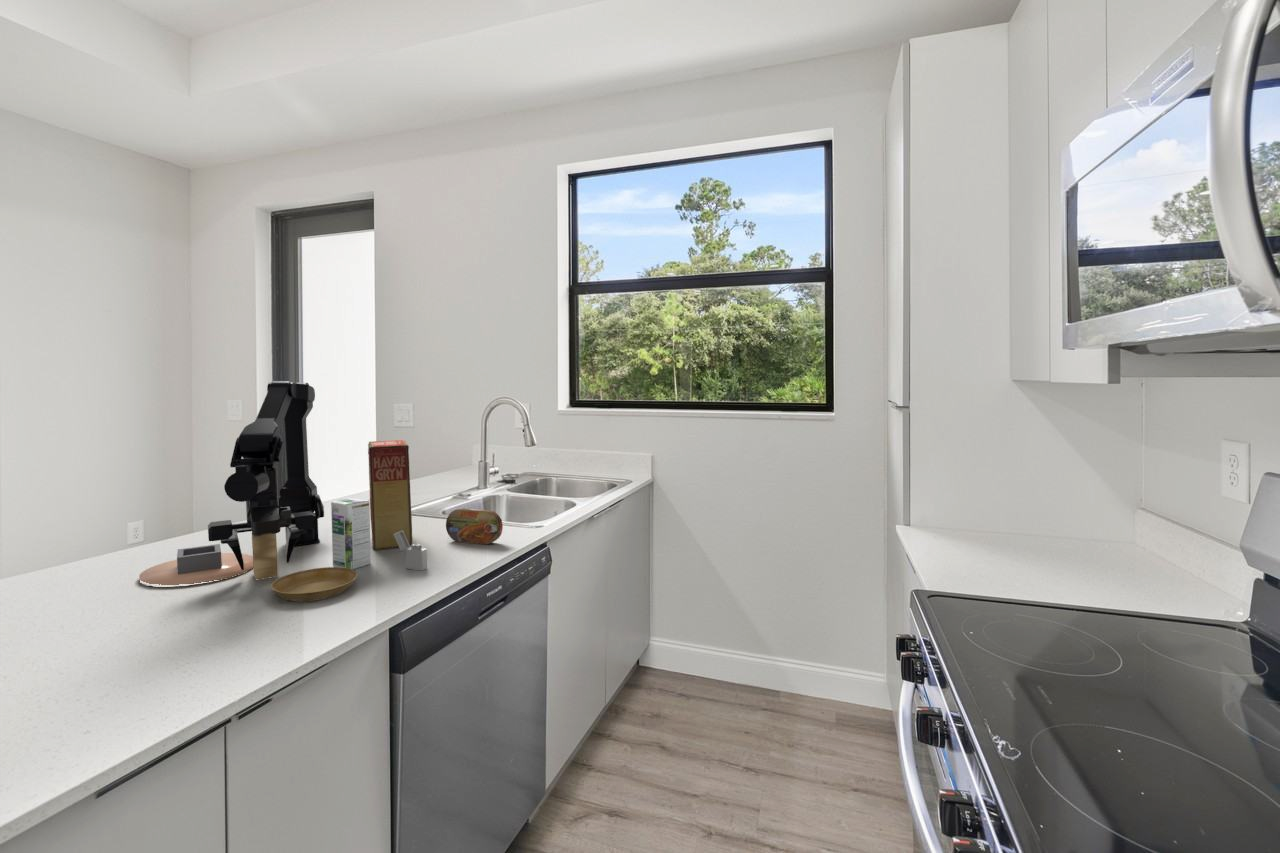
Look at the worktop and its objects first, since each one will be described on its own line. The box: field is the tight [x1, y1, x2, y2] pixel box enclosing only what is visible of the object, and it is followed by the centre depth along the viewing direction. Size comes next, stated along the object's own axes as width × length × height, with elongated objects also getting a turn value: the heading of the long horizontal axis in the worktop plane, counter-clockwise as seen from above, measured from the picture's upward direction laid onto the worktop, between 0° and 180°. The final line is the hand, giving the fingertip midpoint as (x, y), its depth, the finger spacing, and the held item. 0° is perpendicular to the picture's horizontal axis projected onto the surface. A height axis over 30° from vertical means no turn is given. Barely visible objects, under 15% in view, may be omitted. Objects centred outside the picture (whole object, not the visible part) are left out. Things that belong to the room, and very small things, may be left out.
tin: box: [445, 508, 504, 545], centre depth 153 cm, size 15×3×8 cm, turn 73°
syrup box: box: [330, 497, 372, 570], centre depth 133 cm, size 6×6×14 cm
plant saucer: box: [270, 566, 358, 602], centre depth 118 cm, size 15×15×3 cm
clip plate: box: [138, 543, 253, 585], centre depth 129 cm, size 20×20×4 cm
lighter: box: [394, 530, 428, 571], centre depth 132 cm, size 7×2×8 cm, turn 76°
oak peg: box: [251, 533, 279, 580], centre depth 126 cm, size 4×4×9 cm
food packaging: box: [367, 439, 413, 551], centre depth 152 cm, size 13×9×25 cm
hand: (265, 566), depth 126 cm, fingers open, 8 cm apart
